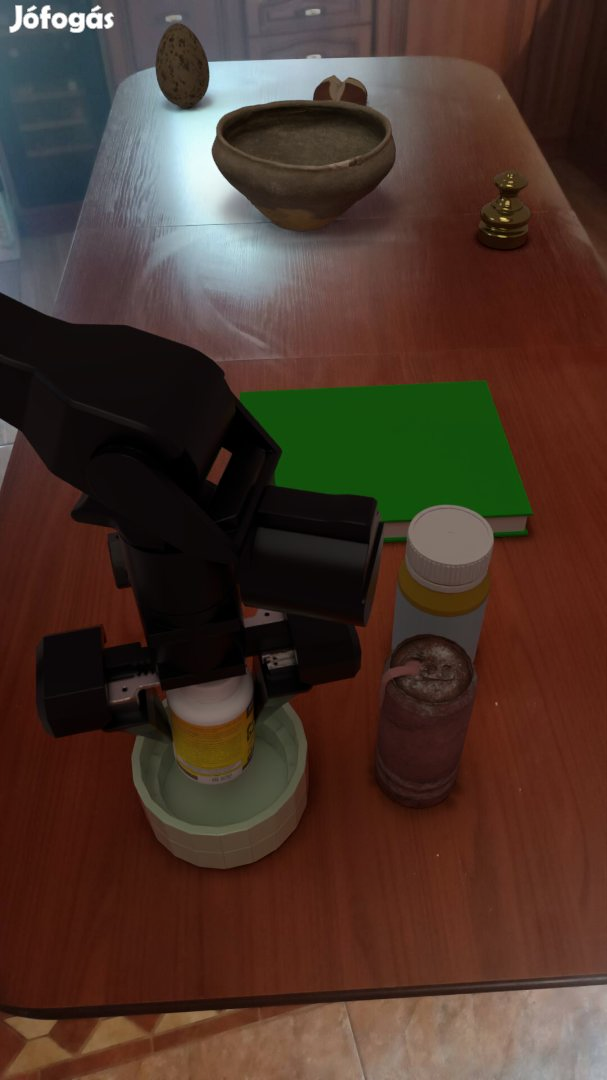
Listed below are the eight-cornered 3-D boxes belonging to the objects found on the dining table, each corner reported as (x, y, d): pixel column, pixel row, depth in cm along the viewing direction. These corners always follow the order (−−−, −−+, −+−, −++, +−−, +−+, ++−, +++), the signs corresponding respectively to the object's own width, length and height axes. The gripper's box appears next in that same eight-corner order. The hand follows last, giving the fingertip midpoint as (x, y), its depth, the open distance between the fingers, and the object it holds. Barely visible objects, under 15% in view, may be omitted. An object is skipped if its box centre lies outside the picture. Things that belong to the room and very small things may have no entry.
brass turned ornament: (502, 255, 118) (513, 187, 111) (466, 237, 123) (475, 170, 115) (536, 241, 121) (549, 173, 114) (500, 224, 125) (511, 158, 118)
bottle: (483, 639, 70) (511, 516, 59) (459, 702, 65) (484, 581, 54) (407, 614, 72) (420, 490, 61) (378, 673, 67) (388, 552, 57)
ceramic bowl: (154, 890, 55) (139, 854, 51) (139, 737, 64) (125, 695, 59) (325, 849, 57) (325, 811, 53) (289, 706, 65) (286, 663, 61)
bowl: (184, 215, 130) (172, 123, 120) (310, 168, 143) (309, 81, 133) (298, 276, 115) (295, 176, 105) (428, 217, 128) (436, 123, 118)
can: (358, 754, 62) (364, 645, 52) (432, 727, 64) (451, 617, 54) (392, 824, 58) (404, 721, 48) (469, 794, 60) (497, 689, 50)
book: (527, 535, 78) (533, 513, 76) (239, 549, 78) (237, 528, 76) (481, 399, 94) (485, 377, 92) (241, 410, 93) (239, 389, 91)
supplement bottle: (261, 780, 54) (261, 691, 47) (179, 795, 53) (166, 707, 46) (247, 712, 58) (245, 620, 51) (170, 725, 57) (157, 633, 50)
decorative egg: (184, 119, 162) (174, 34, 151) (150, 108, 167) (137, 24, 156) (223, 105, 167) (216, 22, 156) (189, 94, 172) (179, 13, 161)
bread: (307, 112, 163) (306, 85, 159) (324, 94, 170) (323, 68, 167) (360, 117, 160) (360, 90, 156) (374, 99, 168) (375, 72, 164)
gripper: (318, 453, 50) (319, 611, 61) (9, 503, 47) (70, 659, 58) (368, 585, 42) (359, 739, 53) (3, 654, 39) (74, 800, 51)
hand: (213, 728), depth 54 cm, fingers closed on supplement bottle, 6 cm apart
